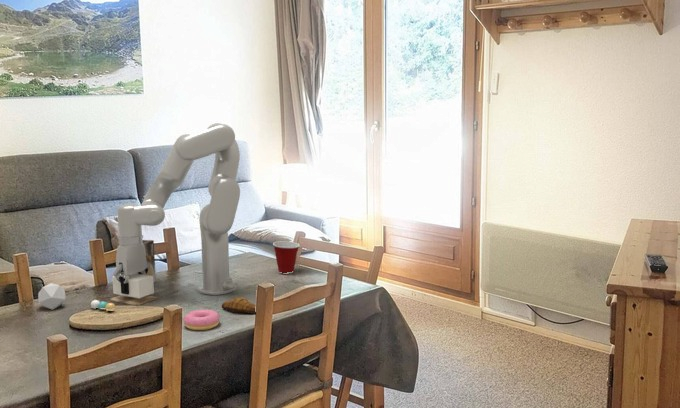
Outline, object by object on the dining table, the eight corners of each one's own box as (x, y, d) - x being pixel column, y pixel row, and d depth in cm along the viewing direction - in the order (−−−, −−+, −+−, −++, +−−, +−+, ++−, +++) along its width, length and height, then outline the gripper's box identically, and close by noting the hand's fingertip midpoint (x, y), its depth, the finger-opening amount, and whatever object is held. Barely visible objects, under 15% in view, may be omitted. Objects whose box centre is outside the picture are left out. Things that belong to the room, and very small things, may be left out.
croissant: (216, 311, 216) (215, 297, 215) (228, 306, 222) (227, 291, 221) (251, 317, 210) (251, 302, 209) (262, 311, 216) (262, 296, 216)
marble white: (102, 308, 220) (102, 299, 219) (95, 310, 217) (94, 301, 217) (96, 306, 221) (95, 298, 221) (88, 309, 219) (88, 300, 218)
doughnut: (176, 325, 203) (176, 312, 202) (207, 317, 210) (207, 305, 210) (196, 334, 195) (195, 321, 194) (227, 325, 203) (227, 312, 202)
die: (71, 308, 221) (69, 282, 226) (54, 303, 214) (52, 275, 218) (50, 316, 223) (49, 289, 227) (32, 311, 215) (31, 283, 219)
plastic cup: (299, 276, 259) (298, 246, 257) (271, 276, 259) (271, 246, 257) (301, 269, 270) (300, 240, 268) (274, 269, 270) (274, 240, 268)
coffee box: (140, 280, 254) (138, 239, 251) (156, 281, 252) (154, 240, 250) (128, 287, 245) (126, 244, 242) (144, 287, 244) (142, 245, 241)
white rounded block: (153, 292, 229) (153, 276, 228) (139, 298, 223) (138, 280, 222) (128, 288, 235) (127, 272, 234) (113, 293, 229) (112, 276, 228)
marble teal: (110, 309, 218) (109, 300, 218) (102, 312, 216) (102, 303, 215) (103, 308, 220) (102, 299, 219) (96, 310, 217) (95, 302, 216)
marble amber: (117, 311, 217) (116, 302, 216) (110, 313, 214) (109, 304, 214) (110, 309, 218) (110, 301, 218) (103, 312, 215) (103, 303, 215)
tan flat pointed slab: (157, 298, 230) (157, 297, 230) (138, 305, 222) (137, 304, 222) (129, 293, 236) (129, 292, 236) (110, 300, 228) (110, 298, 228)
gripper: (141, 234, 235) (143, 283, 238) (102, 244, 220) (106, 296, 223) (157, 236, 232) (159, 286, 235) (119, 246, 217) (122, 299, 220)
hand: (133, 290), depth 229 cm, fingers closed on white rounded block, 7 cm apart
